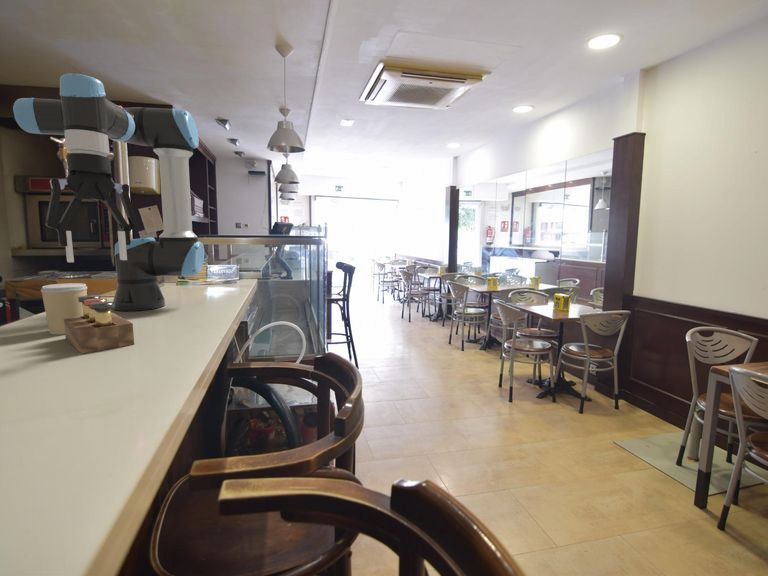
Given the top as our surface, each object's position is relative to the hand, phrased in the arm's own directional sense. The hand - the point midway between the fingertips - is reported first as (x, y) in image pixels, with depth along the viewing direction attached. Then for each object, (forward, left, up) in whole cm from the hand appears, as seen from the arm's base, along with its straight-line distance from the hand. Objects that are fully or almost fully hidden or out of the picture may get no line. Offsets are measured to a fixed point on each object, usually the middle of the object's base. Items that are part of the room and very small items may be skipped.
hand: (98, 260), depth 88 cm
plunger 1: (0, -12, -16) cm, 20 cm away
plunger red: (0, -6, -16) cm, 17 cm away
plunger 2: (0, 0, -16) cm, 16 cm away
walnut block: (0, -6, -19) cm, 20 cm away
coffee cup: (+3, -23, -20) cm, 30 cm away
